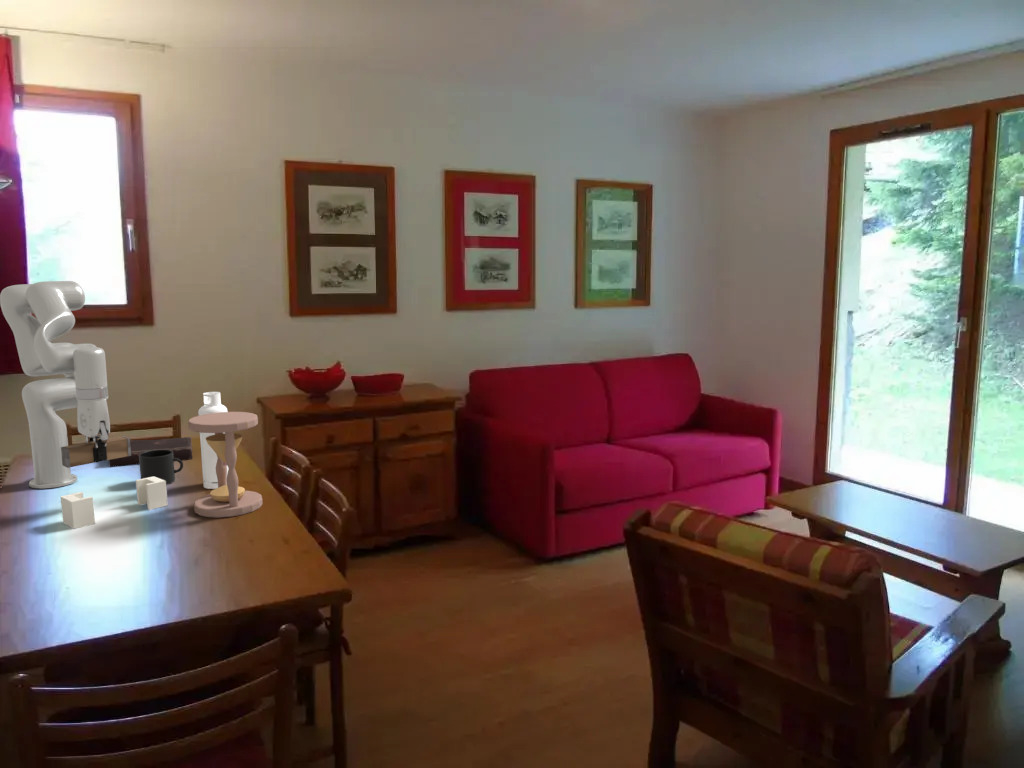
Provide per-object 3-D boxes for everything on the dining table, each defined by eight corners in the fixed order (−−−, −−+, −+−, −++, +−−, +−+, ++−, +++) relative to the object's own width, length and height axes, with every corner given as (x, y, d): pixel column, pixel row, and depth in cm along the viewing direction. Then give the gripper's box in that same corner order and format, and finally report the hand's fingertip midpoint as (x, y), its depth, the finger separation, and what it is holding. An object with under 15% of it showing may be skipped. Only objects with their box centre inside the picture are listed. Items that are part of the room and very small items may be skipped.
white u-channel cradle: (63, 522, 198) (60, 496, 197) (155, 500, 216) (153, 476, 215) (74, 528, 194) (71, 501, 192) (167, 505, 212) (165, 480, 211)
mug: (184, 483, 232) (182, 454, 231) (140, 488, 228) (137, 458, 226) (184, 475, 241) (182, 447, 239) (142, 479, 236) (139, 451, 235)
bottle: (197, 487, 229) (190, 394, 224) (217, 479, 236) (211, 390, 231) (218, 490, 226) (212, 396, 221) (237, 482, 233) (232, 391, 228)
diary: (192, 461, 260) (191, 447, 259) (109, 469, 251) (108, 454, 250) (192, 448, 277) (191, 434, 276) (114, 455, 268) (113, 441, 267)
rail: (62, 465, 204) (60, 447, 203) (125, 453, 216) (124, 436, 215) (67, 467, 202) (65, 449, 201) (131, 455, 214) (129, 438, 213)
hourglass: (195, 501, 215) (189, 414, 211) (260, 494, 221) (256, 409, 217) (193, 521, 199) (186, 427, 195) (264, 513, 205) (259, 421, 201)
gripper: (64, 391, 208) (70, 456, 211) (90, 400, 198) (95, 468, 201) (94, 387, 214) (99, 451, 217) (120, 396, 203) (125, 463, 207)
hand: (97, 459), depth 209 cm, fingers closed on rail, 3 cm apart
